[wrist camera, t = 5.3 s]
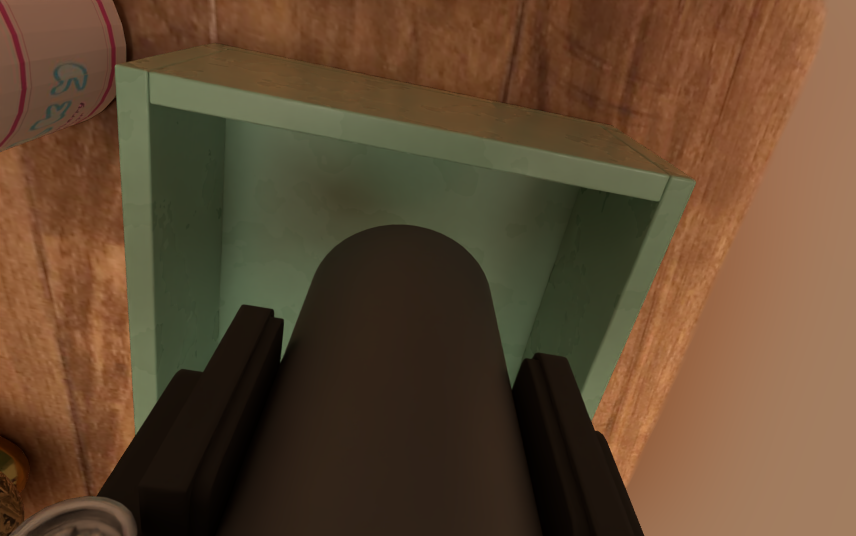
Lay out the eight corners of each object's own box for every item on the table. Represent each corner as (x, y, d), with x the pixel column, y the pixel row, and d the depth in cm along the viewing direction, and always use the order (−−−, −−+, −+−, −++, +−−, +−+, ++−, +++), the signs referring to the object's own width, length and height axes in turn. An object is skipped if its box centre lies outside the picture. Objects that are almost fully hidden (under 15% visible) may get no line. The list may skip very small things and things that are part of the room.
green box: (212, 42, 17) (113, 64, 11) (613, 125, 18) (698, 180, 13) (205, 412, 24) (140, 539, 18) (498, 453, 25) (521, 581, 20)
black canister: (319, 206, 12) (136, 593, 4) (512, 241, 12) (651, 650, 5) (301, 363, 14) (155, 815, 6) (467, 389, 14) (515, 840, 7)
